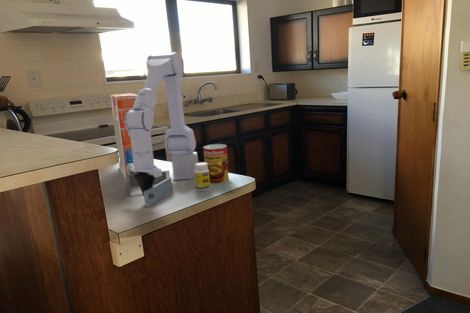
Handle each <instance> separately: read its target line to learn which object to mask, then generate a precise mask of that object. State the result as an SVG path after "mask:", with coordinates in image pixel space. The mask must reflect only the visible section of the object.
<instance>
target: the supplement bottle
mask: <svg viewBox="0 0 470 313" xmlns="http://www.w3.org/2000/svg"><path fill="white" fill-rule="evenodd" d="M207 168H208V165H207V163H205V161H203V162H201V161H200V162H198V163H196V164H195V169H196V170H195V171H194V175H195V178H194V183H195V184H194V185H195V186H194V187H195V190H196V192H197V191H198V192H204V191H205V192H206V191H208V190H210V189H211V183H210V178H209V169H207Z"/></svg>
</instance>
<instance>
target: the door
mask: <svg viewBox="0 0 470 313" xmlns="http://www.w3.org/2000/svg"><path fill="white" fill-rule="evenodd" d="M172 192H173V179H172V176H170V177H169V178H167V179H166V180H164V181H162V182H160V183H158V184H157V185H155V186H153V187H151V188H149V189H148V190H146V191H144V196H143V199H144V200H143V201H144V207H145V208H148V207H150V206H152V205H153V204H154V203H156V202H158V201H160V200H161V199H163V198H165V197H166V196H168V195H169V194H171V193H172Z"/></svg>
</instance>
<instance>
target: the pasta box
mask: <svg viewBox="0 0 470 313" xmlns="http://www.w3.org/2000/svg"><path fill="white" fill-rule="evenodd" d="M137 95H138V94H136V93H133V92H132V93H131V92H130V93H116V94H110V95H109V97H110V104H111V111H112V112H111V114H112V121H113V128H114V135H115V136H114V138H115V143H116V144H115V145H116V150H117V149H118V151H119V158H120V163H119V162H118V166H119V170H120V171H121V173H122V175H123V178H125V180H126V177H127V175H130V174H137V173H138V172H132V171H131V170H129V164H130V163H133V154H132V146H131V138H130V136H129V135H128V131H127V129H126V127H125V124H124V121H125V115H126V113H127V112H129V111H130V110H132V108H133V105H134V102H135V100H136V97H137Z"/></svg>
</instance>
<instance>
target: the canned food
mask: <svg viewBox="0 0 470 313" xmlns="http://www.w3.org/2000/svg"><path fill="white" fill-rule="evenodd" d="M203 156H204V157H203V158H204V161H203V162H205V163H207V165H208V168H207V169H209V178H210V184H213V185H214V184H215V185H216V184H217V185H218V184H223V183H226V182H228V181H229V165H228V148H227V145H226V144H223V143H213V144H207V145H205V146H204V145H203Z"/></svg>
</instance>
